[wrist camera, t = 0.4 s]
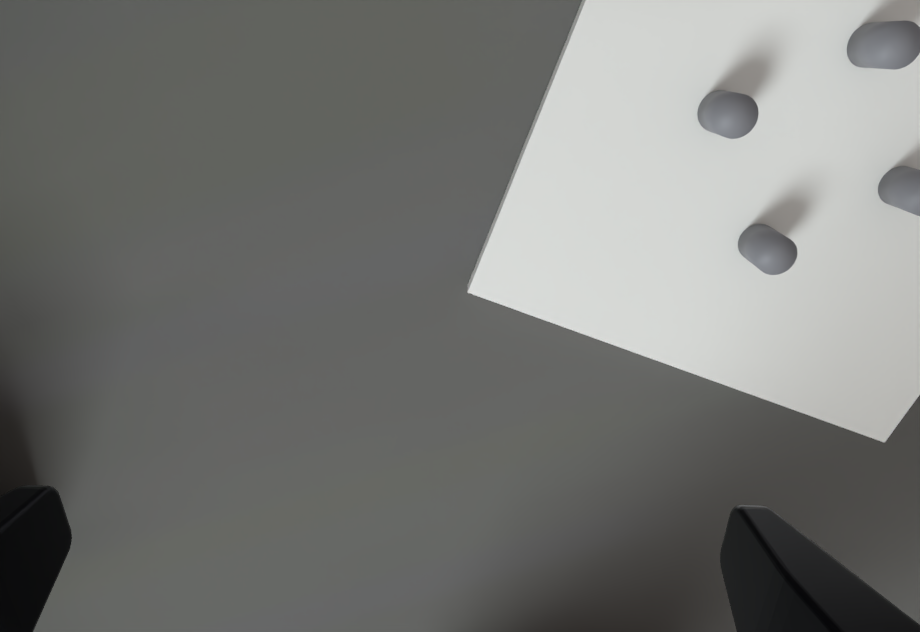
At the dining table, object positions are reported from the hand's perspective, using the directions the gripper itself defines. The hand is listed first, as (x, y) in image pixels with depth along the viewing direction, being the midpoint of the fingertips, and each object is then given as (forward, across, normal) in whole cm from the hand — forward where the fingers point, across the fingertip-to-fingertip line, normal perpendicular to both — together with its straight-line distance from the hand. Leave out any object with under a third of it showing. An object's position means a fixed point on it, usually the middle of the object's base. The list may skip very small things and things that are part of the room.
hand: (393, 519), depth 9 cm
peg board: (+14, -11, -2) cm, 18 cm away
